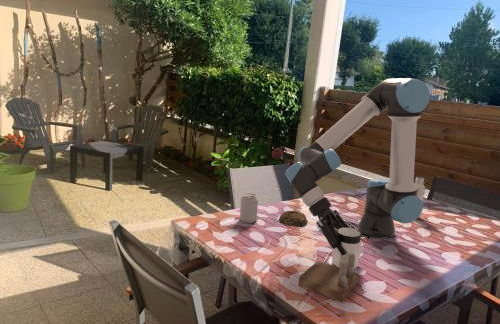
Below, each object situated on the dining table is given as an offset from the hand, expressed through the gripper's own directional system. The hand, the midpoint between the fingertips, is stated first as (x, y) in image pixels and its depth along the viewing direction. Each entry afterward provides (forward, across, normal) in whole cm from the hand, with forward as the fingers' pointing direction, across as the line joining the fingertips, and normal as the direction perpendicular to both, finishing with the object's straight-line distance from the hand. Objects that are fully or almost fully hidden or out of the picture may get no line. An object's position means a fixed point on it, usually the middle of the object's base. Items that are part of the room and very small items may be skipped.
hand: (355, 257), depth 128 cm
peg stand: (+1, +16, -4) cm, 17 cm away
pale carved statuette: (+7, -72, +1) cm, 72 cm away
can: (-34, -12, -40) cm, 54 cm away
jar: (0, 0, -5) cm, 5 cm away
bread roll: (-23, -26, -29) cm, 45 cm away
